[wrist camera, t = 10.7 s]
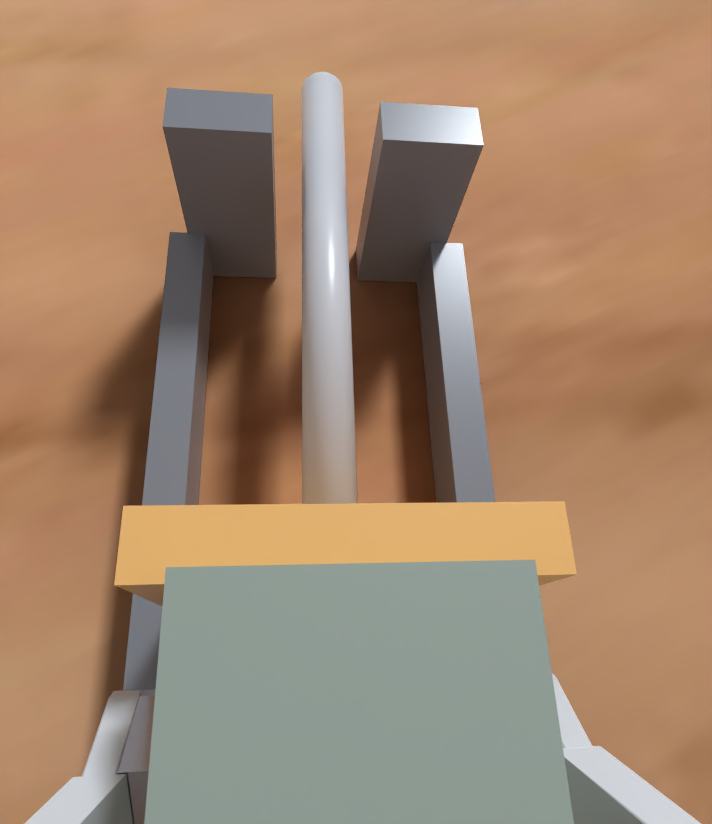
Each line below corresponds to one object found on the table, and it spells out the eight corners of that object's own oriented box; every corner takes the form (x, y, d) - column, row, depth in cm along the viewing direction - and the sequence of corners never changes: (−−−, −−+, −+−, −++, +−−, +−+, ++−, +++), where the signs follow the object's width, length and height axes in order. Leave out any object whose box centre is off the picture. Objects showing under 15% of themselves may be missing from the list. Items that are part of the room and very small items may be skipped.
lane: (523, 986, 16) (685, 1208, 9) (113, 1027, 15) (-23, 1315, 8) (442, 252, 25) (496, 109, 18) (184, 242, 24) (146, 86, 17)
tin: (418, 815, 16) (604, 1033, 7) (222, 828, 16) (122, 1087, 6) (405, 612, 18) (535, 559, 9) (230, 617, 18) (166, 567, 8)
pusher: (436, 616, 19) (576, 574, 10) (202, 624, 18) (114, 585, 9) (401, 193, 25) (465, -74, 16) (228, 184, 25) (192, -100, 15)
